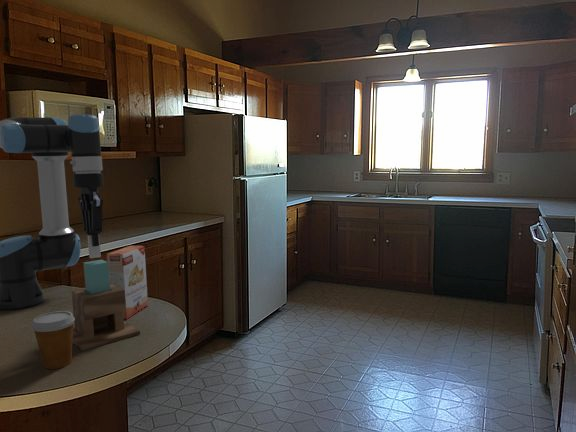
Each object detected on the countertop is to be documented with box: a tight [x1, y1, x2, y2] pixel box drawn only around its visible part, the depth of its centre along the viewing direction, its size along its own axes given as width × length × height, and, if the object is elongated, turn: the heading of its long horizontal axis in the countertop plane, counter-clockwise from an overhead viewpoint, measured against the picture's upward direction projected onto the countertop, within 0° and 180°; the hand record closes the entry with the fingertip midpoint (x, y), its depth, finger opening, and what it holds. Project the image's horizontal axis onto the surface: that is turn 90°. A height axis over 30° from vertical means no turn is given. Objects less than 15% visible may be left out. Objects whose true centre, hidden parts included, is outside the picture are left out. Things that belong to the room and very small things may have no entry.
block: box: [83, 259, 110, 295], centre depth 134 cm, size 5×5×12 cm
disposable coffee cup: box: [31, 310, 75, 370], centre depth 116 cm, size 10×10×12 cm
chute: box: [71, 283, 141, 352], centre depth 135 cm, size 16×16×13 cm
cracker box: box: [106, 245, 149, 320], centre depth 153 cm, size 14×6×21 cm, turn 168°
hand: (95, 257), depth 133 cm, fingers closed
